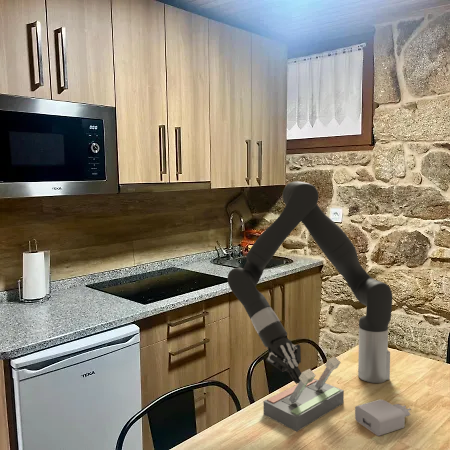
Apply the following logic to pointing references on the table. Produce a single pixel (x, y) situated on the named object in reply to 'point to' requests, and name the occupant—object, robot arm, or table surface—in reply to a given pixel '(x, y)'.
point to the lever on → (327, 371)
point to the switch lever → (302, 384)
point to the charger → (381, 416)
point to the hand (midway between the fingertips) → (300, 381)
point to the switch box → (303, 405)
